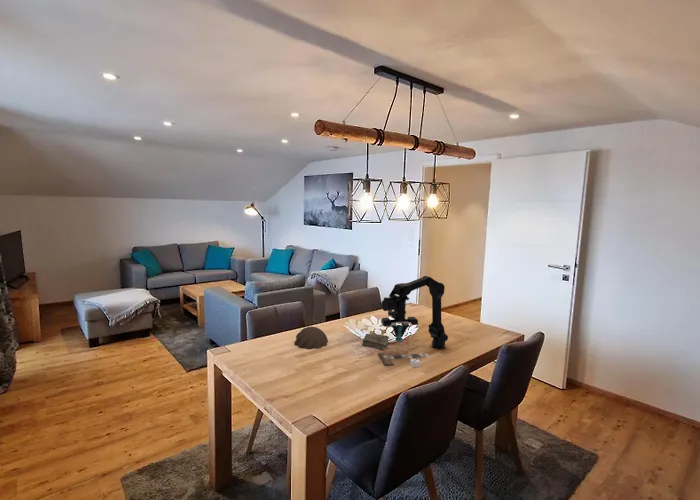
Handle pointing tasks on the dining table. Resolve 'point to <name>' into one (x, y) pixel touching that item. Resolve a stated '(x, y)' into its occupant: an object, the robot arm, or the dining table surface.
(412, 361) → the die
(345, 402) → the dining table surface
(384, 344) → the marble piece
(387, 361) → the board
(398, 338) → the pawn
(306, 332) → the decorative dome
